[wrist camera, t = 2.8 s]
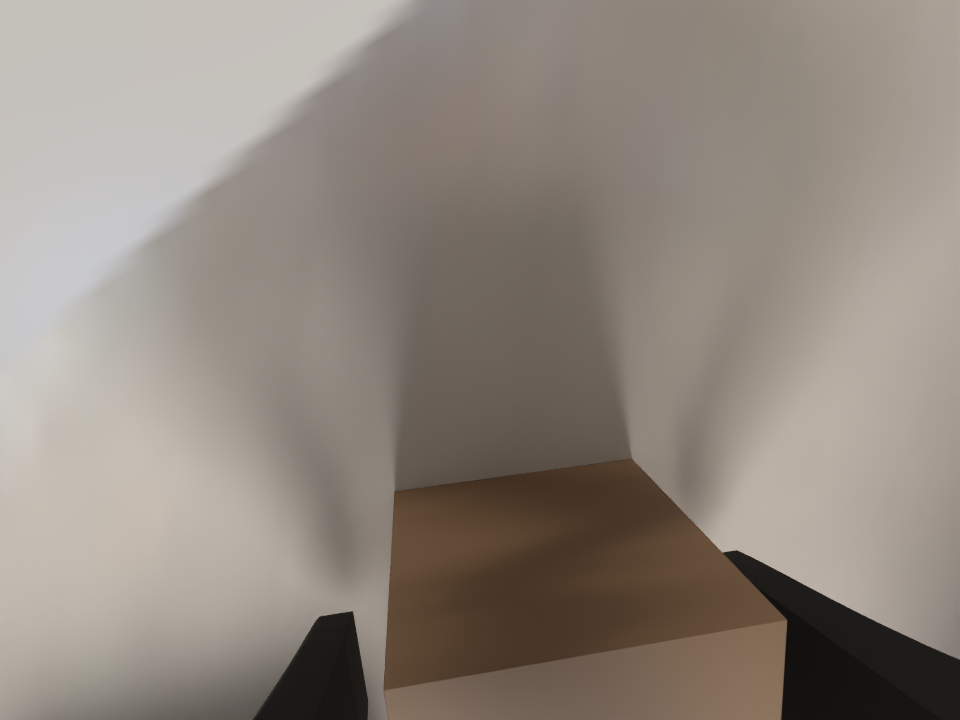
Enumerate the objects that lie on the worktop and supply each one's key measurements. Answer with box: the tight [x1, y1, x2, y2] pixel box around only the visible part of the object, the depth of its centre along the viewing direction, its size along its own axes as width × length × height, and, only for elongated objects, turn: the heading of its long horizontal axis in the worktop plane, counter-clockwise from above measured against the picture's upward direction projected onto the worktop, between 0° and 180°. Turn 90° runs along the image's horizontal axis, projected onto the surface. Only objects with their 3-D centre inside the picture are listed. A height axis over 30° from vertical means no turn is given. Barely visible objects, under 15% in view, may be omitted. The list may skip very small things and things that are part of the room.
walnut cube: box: [384, 459, 787, 720], centre depth 10 cm, size 5×5×5 cm
